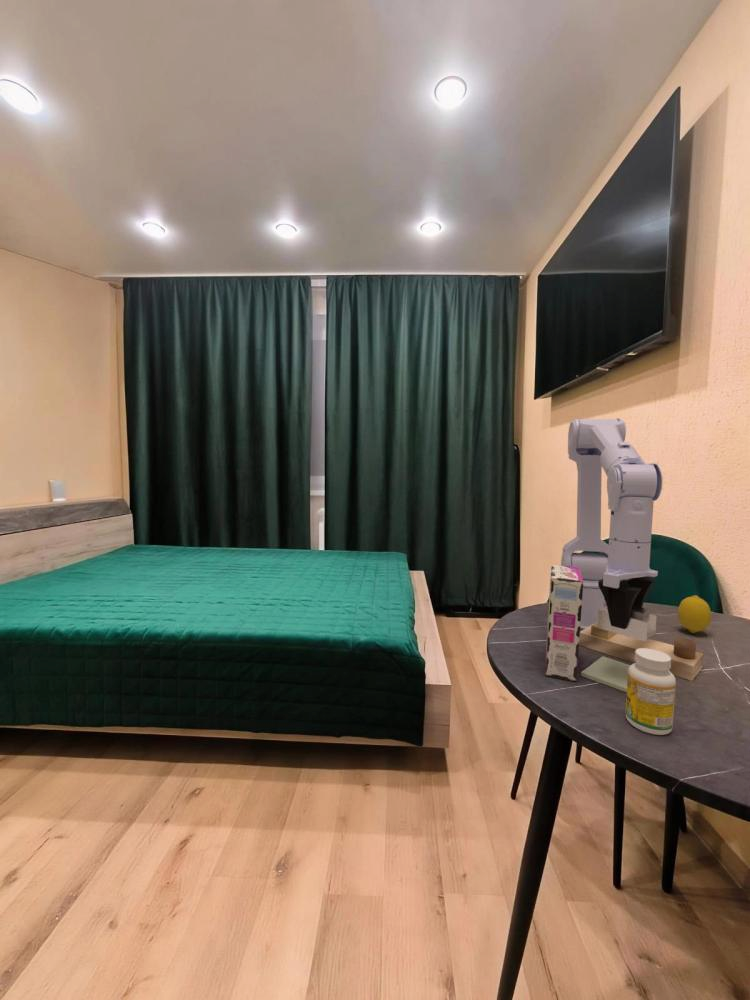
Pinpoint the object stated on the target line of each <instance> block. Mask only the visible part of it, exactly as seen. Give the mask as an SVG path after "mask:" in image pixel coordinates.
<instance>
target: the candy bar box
mask: <svg viewBox="0 0 750 1000" xmlns="http://www.w3.org/2000/svg"><path fill="white" fill-rule="evenodd" d="M550 568H551V569H550V576H549V577H550V578H549V579H550V580H549V595H548V609H547V610H548V611H547V625H546V627H547V628H546V629H547V630H546V644H545V645H546V646H545V672H544V673H545V676H548V677H552V678H556V679H562V680H566V681H567V680H568V681H571V682H572V681H573V682H577V680H578V667H579V665H578V663H579V651H580V645H579V640H580V631H581V628H580V625H581V611H582V596H583V579H582V576H581V572H580V568H578V567H570V566H561V564H560V565H558V564H552V565H551V567H550Z"/></svg>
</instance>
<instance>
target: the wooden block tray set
mask: <svg viewBox="0 0 750 1000" xmlns="http://www.w3.org/2000/svg"><path fill="white" fill-rule="evenodd" d="M579 647H584V648H587V649H590V650H594V651H597V652H599V653H603V654H605V655H609V656H612V657H616V658H618V659H621V660H624V661H628V662H631V663H633V664H634V663H636V662H635V651H636V649H639V648H647V649H653V650H657V651H660V652H663V653H665V654H667V655H668V656H670V658H671V668H670V670H669V671H670V672H671V673H672V674H673V675H674V677H678V678H682V679H685V680H688V681H691V682H692V681H694V679H695V678H696V677H697V675H698V674H699V673H700V672H701V670H702V669H703V664H704V654H705V653H702V652H700V651H696V650H697V643H696V642H695V641H693V640H691V639H688V638H687V639H686V638H683V637H682V638H679V637H677V638H674V642H673V644H670V643H666V642H662V641H659V640H655V639H652V638H650V639H649V640H648V641H646V642H645V641H642V640H638V639H635V638H631V637H628V636H624V635H621V634H617V633H614V632H610V631H607V630H603V629H599V628H598V622H597V623H595V624H592V625H591V626H589V627H587V628H585V629H581V630H580V640H579Z"/></svg>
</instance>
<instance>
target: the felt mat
mask: <svg viewBox="0 0 750 1000" xmlns="http://www.w3.org/2000/svg"><path fill="white" fill-rule="evenodd" d="M631 665H632V664H628V663H625V662H622V661H618V660H615V659H612V658H610V657H606V656H601V657H600V658H598V659H596V660H595V661H594V662H593V663H592V664H591V665H589V666H588V667H586V668H585V669H584V670H582V671H581V672H580V676H581V677H583V678H586V679H589V680H591V681H594V682H597V683H600V684H603V685H606V686H608V687H610V688H614V689H616V690H618V691H622V692H625V693H627V682H628V669H629V667H630V666H631Z"/></svg>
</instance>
